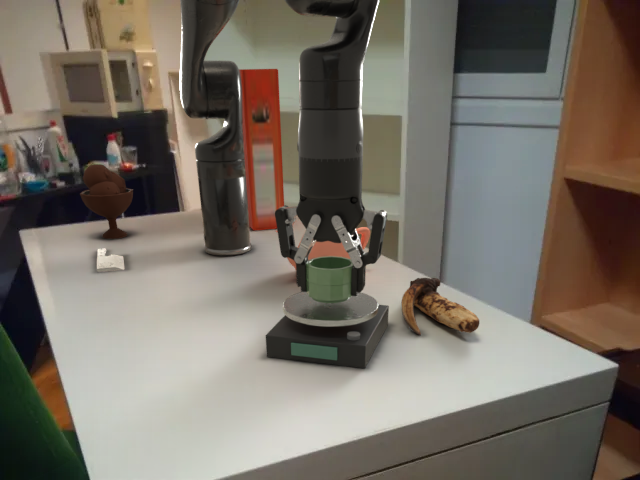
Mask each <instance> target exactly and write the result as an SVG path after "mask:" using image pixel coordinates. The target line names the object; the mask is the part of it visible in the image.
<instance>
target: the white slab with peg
mask: <svg viewBox="0 0 640 480" xmlns="http://www.w3.org/2000/svg"><path fill="white" fill-rule="evenodd" d="M106 254H107V248H105V247H103V248H97V255H96V263H95V265H96V272H97V273H103V272H104V273H106V272H114V271H115V272H116V271H117V272H118V271H125V261H124V256H123V255H117V254H114V253H110V255H106Z"/></svg>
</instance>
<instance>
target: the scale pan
mask: <svg viewBox="0 0 640 480" xmlns="http://www.w3.org/2000/svg"><path fill="white" fill-rule="evenodd" d="M378 305H379V302H378V300H377V299H376V298H375V297H373V296H371V295H370V294H368V293H364V292H362V291H361V292H360V293H359V294H358V296H352V297H350V298H349V299H348V300H346V301H344V302H339V303H321V302H317V301H315V300H313V299H312V298H311V297H309V296H308V294H307V292H297V293H295V294H292V295H290V296H289V297H287V298H286V299H285V300H284V302H283V303H282V312H283V314H284V316H285V315H286V316H287V317H288V318H290V319H291V320H293V321H296V322H299V323H302V324H307V325H312V326H322V327H339V326H349V325H355V324H359V323H362V322H365V321H368V320H370V319H372V318H373V317H374V316H376V314H377V313H378Z"/></svg>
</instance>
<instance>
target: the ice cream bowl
mask: <svg viewBox="0 0 640 480" xmlns="http://www.w3.org/2000/svg"><path fill="white" fill-rule="evenodd" d="M82 180H83V184H85V186H86V188H87V189H85V190H83V191H81V192H80V193H79V196H80V198H81V200H82V202H83V203H84V205H85V206H86V208H88V209H89V210H90V211H92V213H95V214H96V215H97V216H101V217H103V218H105V219H106V220H107V222H108V229H107V230H105V231H104V232H103V233H102V235H101V238H103V239H106V240H117V239H123V238H126V237H128V233H127V232H126V231H125V230H124V229H121V228H119V227H118V224H117V223H118V222H117V219H118V217H119V216H121V215H122V214H124V213H125V212H126V211H127V209H129V207H130V205H131V204H132V202H133V197H134V188H133V189H132V188H128V187H127V186H126V180H125V179H124V177H122V176H121V175H120V174H118V173H117V172H116V171H115V172H114V171H112V170H110V169H109V168H108V167H106V166H105V165H103V164H98V163H95V164H91V165H89V166H87V167H86V168H85V170H84V171H83V175H82Z"/></svg>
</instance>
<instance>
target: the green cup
mask: <svg viewBox="0 0 640 480" xmlns="http://www.w3.org/2000/svg"><path fill="white" fill-rule="evenodd" d="M353 266H354V265H353V263H352V261H351V259H348V258H345V257H336V256H326V257H317V258H313V259H310V260H309V261H308V262H306V289H307V294H308V296H309V297H311V298H312V299H313V300H315V301H317V302H321V303H339V302H344V301H346V300H348V299H349V298H350V297H352V295H351V281H352V267H353Z"/></svg>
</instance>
